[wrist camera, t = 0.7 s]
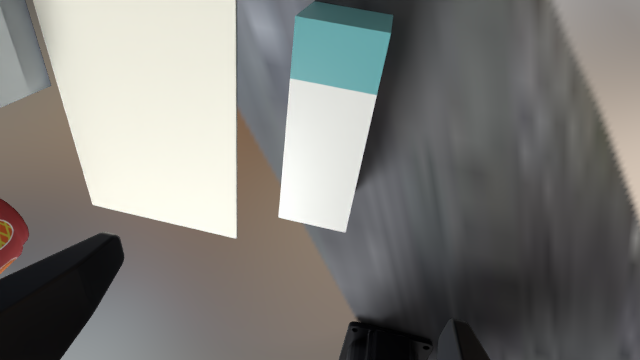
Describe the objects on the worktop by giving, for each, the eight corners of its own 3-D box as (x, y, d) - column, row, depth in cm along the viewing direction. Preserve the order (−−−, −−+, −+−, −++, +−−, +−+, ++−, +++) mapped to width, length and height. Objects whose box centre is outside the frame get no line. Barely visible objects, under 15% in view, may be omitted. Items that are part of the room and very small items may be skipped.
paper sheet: (237, 236, 26) (236, 238, 26) (94, 203, 27) (92, 204, 27) (236, -13, 17) (235, -13, 17) (21, -51, 18) (17, -51, 18)
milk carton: (353, 192, 22) (345, 232, 19) (295, 180, 22) (278, 217, 19) (393, 15, 16) (391, 33, 13) (314, 1, 17) (295, 15, 14)
